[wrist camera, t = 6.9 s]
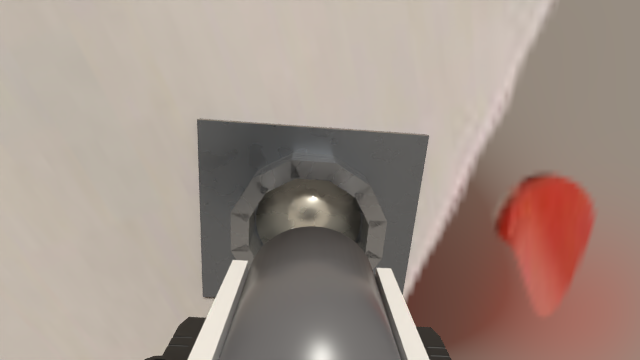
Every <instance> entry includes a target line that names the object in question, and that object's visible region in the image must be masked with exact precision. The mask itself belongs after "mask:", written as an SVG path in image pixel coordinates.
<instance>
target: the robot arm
mask: <svg viewBox="0 0 640 360" xmlns="http://www.w3.org/2000/svg"><path fill="white" fill-rule="evenodd" d="M247 275H248V261H243V260H233V261H232V263H231V265H230V267H229V269H228V272H227V274H226V276H225V278H224V280H223V283H222V285H221V287H220V289H219V291H218V294H217V296H216V298H215V300H214V302H213V305H212V307H211V309H210V311H209V313H208V316H207V318H198V317H188V318H187V319H186V320H185V321H184V322H183V323H181V324H180V325H179V326H178V328H177V330H176V332H175V334H174V335H173V338H172V339H171V341H170V343H169V345H168V346H167V348H166V350H165V352H164V354H163V355H162V356H153V357H150V358H147V359H145V360H218V359H219V356H220V353H221V350H222V348H223V345H224V342H225V339H226V336H227V333H228V330H229V327H230V324H231V321H232V318H233V316H234V313H235V310H236V307H237V304H238V301H239V298H240V295H241V292H242V289H243V286H244V284H245V281H246V278H247ZM375 279H376V283H377V286H378V289H379V292H380V295H381V298H382V301H383V304H384V308H385V311H386V314H387V317H388V320H389V323H390V326H391V330H392V333H393V336H394V339H395V342H396V345H397V348H398V351H399V355H400V358H401V360H451V358H450V357H449V354H448V352H447V350H446V349H445V346H444V344H443V342H442V340H441V338H440V336H439V335H438V334H437V333H436V332H435V331H434V330H433V329H432V328H431V327H416V326H415V324H414V322H413V319H412V317H411V315H410V313H409V310H408V307H407V305H406V303H405V300H404V298H403V296H402V293H401V291H400V289H399V286H398V284H397V281H396V279H395V277H394V274H393V272H392V270H391V268H376V273H375Z"/></svg>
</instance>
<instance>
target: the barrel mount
mask: <svg viewBox="0 0 640 360" xmlns="http://www.w3.org/2000/svg"><path fill="white" fill-rule="evenodd" d="M197 128H198V159H199V190H200V221H201V253H202V284H203V297H216V296H217V294H218V291H219V289H220V287H221V285H222V283H223V280H224V278H225V276H226V274H227V272H228V269H229V267H230V265H231V263H232V261H233V260H243V261H248V272H249V269H250V266H251V264H252V261H253V259H254V257H255V256H256V254H257V252H258V251H259V250H260V249H261V247H262V246H263V245H264V244H265V243H267V242H268V241H269V240H270V239H272V238H273V237H274V236H276V235H278V234H280V233H282V232H285V231H287V230H290V229H294V228H298V227H306V226H317V227H324V228H328V229H332V230H335V231H338V232H340V233H342V234H344V235H346V236H348V237H349V238H350V239H352V240H353V241H354V242H356V243H357V244H358V245H359V246H360V247H361V249H362V250H363V251H364V252H365V254H366V256H367V257H368V259H369V262H370V264H371V267H372V270H373V273H374V276H375V273H376V268H391V270H392V272H393V274H394V277H395V279H396V281H397V284H398V286H399V289H400V291H401V293H402V295H403V289H404V283H405V277H406V271H407V265H408V259H409V253H410V247H411V241H412V235H413V229H414V223H415V217H416V211H417V205H418V199H419V193H420V187H421V181H422V175H423V169H424V163H425V157H426V151H427V145H428V139H429V135H425V134H410V133H396V132H382V131H367V130H353V129H339V128H324V127H310V126H296V125H281V124H267V123H253V122H238V121H224V120H210V119H197Z"/></svg>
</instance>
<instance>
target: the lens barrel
mask: <svg viewBox="0 0 640 360" xmlns="http://www.w3.org/2000/svg"><path fill="white" fill-rule="evenodd" d="M218 360H401V358H400V355H399V351H398V348H397V345H396V342H395V339H394V336H393V333H392V330H391V326H390V323H389V320H388V317H387V314H386V311H385V308H384V304H383V301H382V298H381V295H380V292H379V289H378V286H377V283H376V279H375V276H374V273H373V270H372V267H371V264H370V262H369V259H368V257H367V256H366V254H365V252H364V251H363V250H362V249H361V247H360V246H359V245H358V244H357V243H356V242H354V241H353V240H352V239H350V238H349V237H348V236H346V235H344V234H342V233H340V232H338V231H335V230H332V229H328V228H324V227H317V226H306V227H298V228H294V229H290V230H287V231H285V232H282V233H280V234H278V235H276V236H274V237H273V238H272V239H270V240H269V241H268V242H267V243H265V244H264V245H263V246H262V247H261V249H260V250H259V251H258V252H257V254H256V256H255V257H254V259H253V261H252V264H251V266H250V269H249V272H248V275H247V278H246V281H245V284H244V286H243V289H242V292H241V295H240V298H239V301H238V304H237V307H236V310H235V313H234V316H233V318H232V321H231V324H230V327H229V330H228V333H227V336H226V339H225V342H224V345H223V348H222V350H221V353H220V356H219V359H218Z"/></svg>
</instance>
